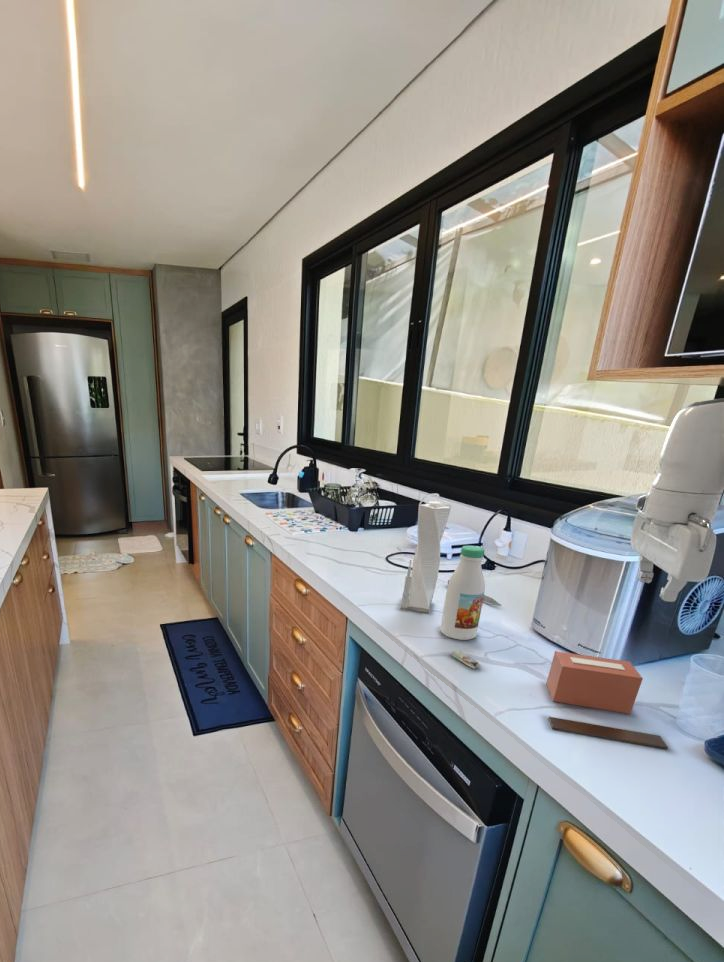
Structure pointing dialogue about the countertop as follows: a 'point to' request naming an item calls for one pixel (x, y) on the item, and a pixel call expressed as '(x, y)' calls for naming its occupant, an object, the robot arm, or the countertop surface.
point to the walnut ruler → (607, 732)
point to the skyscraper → (425, 556)
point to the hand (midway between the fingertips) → (654, 590)
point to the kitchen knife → (489, 600)
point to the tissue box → (593, 682)
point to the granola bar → (465, 659)
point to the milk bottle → (464, 596)
